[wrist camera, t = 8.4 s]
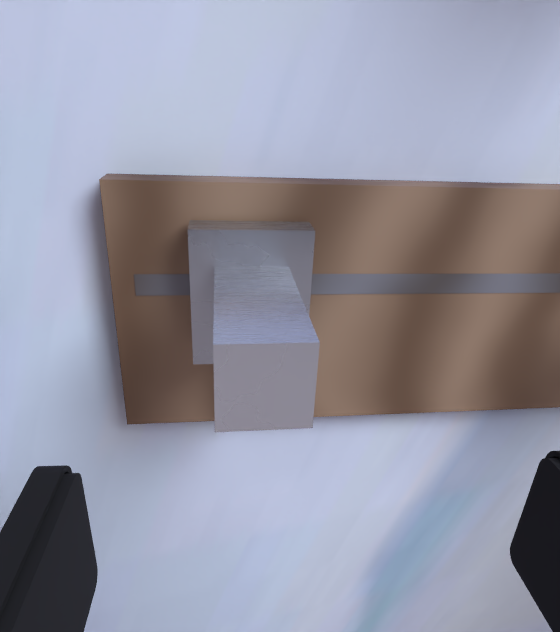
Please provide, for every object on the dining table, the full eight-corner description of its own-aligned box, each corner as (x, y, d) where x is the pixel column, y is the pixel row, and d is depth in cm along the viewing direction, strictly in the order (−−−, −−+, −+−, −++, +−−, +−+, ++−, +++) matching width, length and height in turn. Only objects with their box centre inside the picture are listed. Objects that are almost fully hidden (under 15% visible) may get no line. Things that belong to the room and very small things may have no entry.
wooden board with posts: (723, 188, 24) (1025, 244, 15) (639, 388, 29) (827, 521, 20) (107, 173, 20) (19, 237, 11) (132, 406, 25) (85, 578, 16)
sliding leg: (308, 221, 20) (359, 292, 13) (297, 398, 24) (331, 530, 17) (189, 220, 20) (173, 294, 12) (196, 401, 23) (187, 540, 16)
